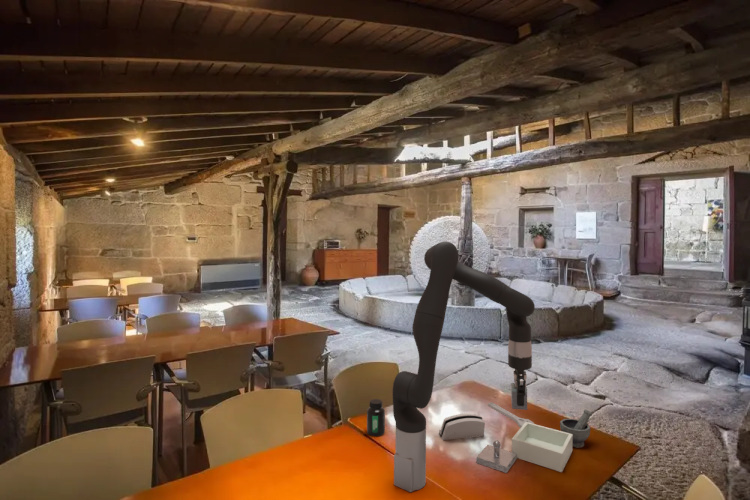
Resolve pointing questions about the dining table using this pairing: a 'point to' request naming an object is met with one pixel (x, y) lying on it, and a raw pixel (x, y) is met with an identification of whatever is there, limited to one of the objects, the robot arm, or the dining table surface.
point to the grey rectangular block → (514, 398)
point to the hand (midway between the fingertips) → (519, 402)
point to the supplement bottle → (375, 418)
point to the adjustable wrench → (509, 415)
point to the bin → (543, 446)
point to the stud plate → (496, 457)
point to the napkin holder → (462, 426)
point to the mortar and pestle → (577, 428)
